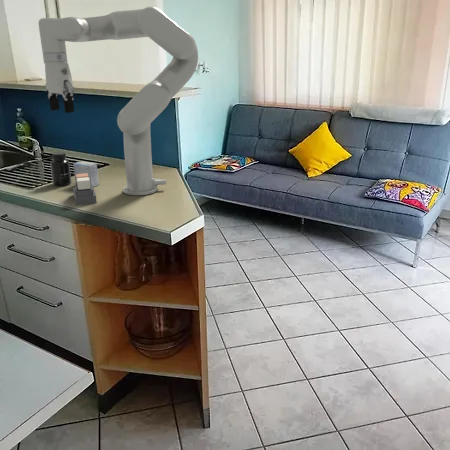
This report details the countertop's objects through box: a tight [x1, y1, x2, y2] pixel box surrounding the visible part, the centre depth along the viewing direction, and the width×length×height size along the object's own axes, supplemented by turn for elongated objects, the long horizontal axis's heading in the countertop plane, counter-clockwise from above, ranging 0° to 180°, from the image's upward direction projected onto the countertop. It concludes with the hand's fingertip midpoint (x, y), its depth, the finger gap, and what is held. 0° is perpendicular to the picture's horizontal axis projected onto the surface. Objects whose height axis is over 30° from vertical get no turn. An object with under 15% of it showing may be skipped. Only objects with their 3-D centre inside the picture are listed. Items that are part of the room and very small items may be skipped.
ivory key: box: [77, 177, 90, 190], centre depth 161 cm, size 4×4×3 cm
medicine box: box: [73, 161, 100, 188], centre depth 179 cm, size 8×4×9 cm, turn 66°
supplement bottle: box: [50, 151, 72, 187], centre depth 181 cm, size 7×7×12 cm
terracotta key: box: [76, 173, 88, 180], centre depth 166 cm, size 4×4×3 cm
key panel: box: [72, 182, 98, 206], centre depth 165 cm, size 7×12×4 cm, turn 19°
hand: (62, 111), depth 163 cm, fingers open, 9 cm apart
